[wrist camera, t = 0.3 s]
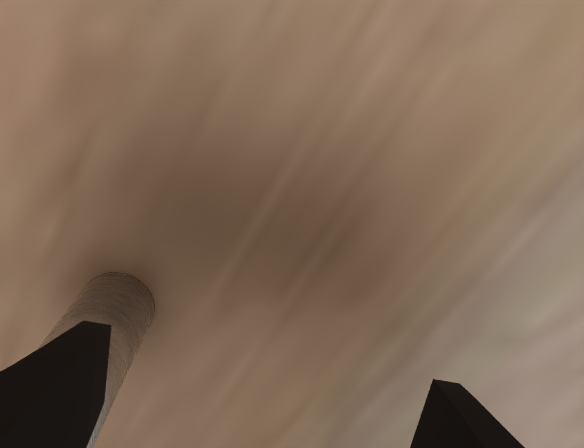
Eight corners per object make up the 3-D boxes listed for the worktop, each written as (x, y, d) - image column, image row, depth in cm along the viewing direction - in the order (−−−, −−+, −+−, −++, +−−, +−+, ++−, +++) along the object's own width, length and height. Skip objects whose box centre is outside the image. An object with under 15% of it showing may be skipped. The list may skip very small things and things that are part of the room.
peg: (151, 341, 24) (71, 523, 15) (79, 330, 23) (-41, 507, 15) (157, 279, 23) (76, 436, 14) (83, 267, 22) (-44, 418, 14)
